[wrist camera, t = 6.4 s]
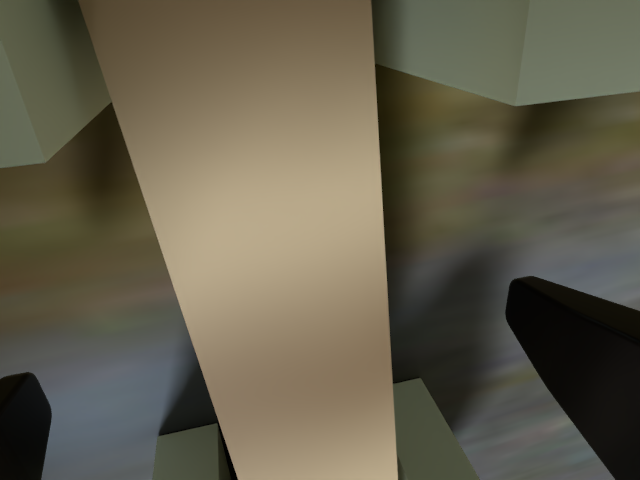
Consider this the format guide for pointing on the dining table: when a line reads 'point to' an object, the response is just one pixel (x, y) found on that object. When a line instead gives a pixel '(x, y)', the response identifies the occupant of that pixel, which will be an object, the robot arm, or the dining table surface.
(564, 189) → the dining table surface
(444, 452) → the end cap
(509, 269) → the dining table surface
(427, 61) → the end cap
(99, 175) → the dining table surface
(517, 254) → the dining table surface
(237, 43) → the slat
